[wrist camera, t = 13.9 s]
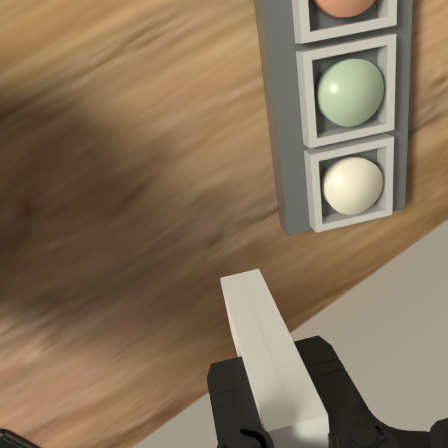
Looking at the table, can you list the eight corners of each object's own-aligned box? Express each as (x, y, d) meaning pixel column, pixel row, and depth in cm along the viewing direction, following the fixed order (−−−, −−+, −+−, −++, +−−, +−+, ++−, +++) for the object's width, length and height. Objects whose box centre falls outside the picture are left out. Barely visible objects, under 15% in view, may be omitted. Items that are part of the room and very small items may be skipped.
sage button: (317, 128, 41) (324, 132, 39) (313, 64, 38) (320, 66, 36) (374, 116, 41) (383, 119, 39) (374, 52, 38) (384, 53, 37)
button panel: (280, 224, 48) (293, 243, 44) (245, -69, 35) (259, -83, 31) (391, 198, 50) (414, 214, 45) (397, -95, 37) (430, -112, 32)
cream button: (322, 213, 45) (329, 220, 43) (319, 161, 42) (326, 166, 40) (374, 201, 45) (382, 207, 44) (374, 149, 43) (383, 154, 41)
